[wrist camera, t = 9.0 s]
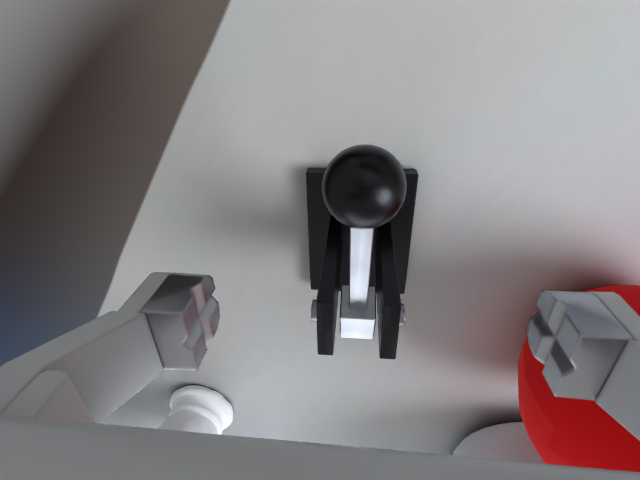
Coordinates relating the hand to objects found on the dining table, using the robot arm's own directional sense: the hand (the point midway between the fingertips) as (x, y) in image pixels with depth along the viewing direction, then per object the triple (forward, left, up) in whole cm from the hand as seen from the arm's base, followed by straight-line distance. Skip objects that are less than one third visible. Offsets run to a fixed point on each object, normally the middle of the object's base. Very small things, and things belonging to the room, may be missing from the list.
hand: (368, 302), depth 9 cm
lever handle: (0, -4, -11) cm, 12 cm away
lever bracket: (0, -10, -22) cm, 25 cm away
